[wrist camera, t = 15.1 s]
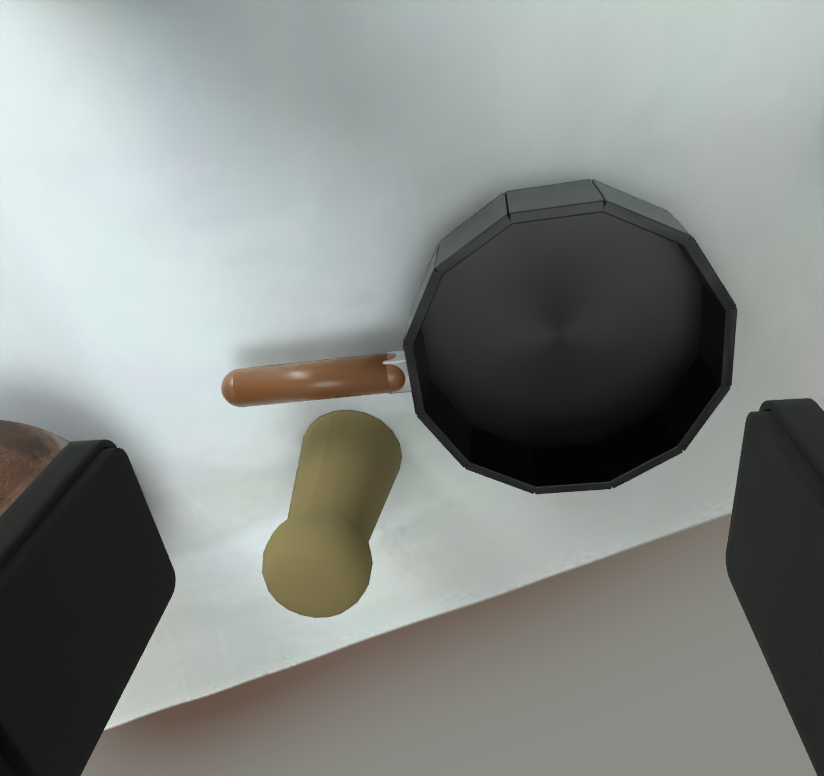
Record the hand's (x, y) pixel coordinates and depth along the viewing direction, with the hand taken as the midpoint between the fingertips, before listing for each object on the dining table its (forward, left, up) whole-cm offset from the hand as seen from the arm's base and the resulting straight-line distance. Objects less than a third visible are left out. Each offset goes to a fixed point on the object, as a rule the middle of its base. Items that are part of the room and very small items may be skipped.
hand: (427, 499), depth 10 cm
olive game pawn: (-3, -17, -24) cm, 30 cm away
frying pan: (+2, -8, -24) cm, 26 cm away
